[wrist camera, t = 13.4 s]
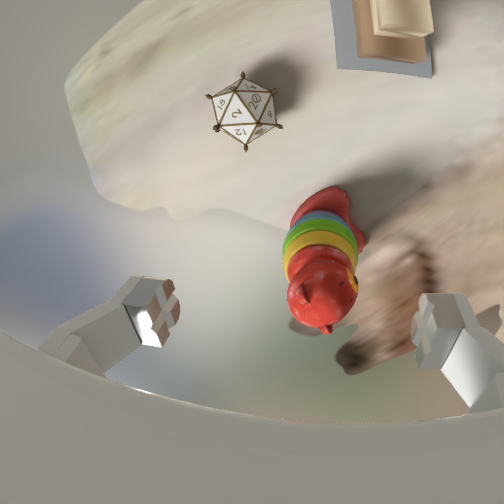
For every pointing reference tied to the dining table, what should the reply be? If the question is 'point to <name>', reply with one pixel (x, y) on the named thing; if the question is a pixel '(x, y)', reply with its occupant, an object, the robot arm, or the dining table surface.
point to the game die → (244, 110)
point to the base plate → (350, 60)
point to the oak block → (402, 18)
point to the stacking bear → (322, 260)
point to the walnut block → (383, 40)
